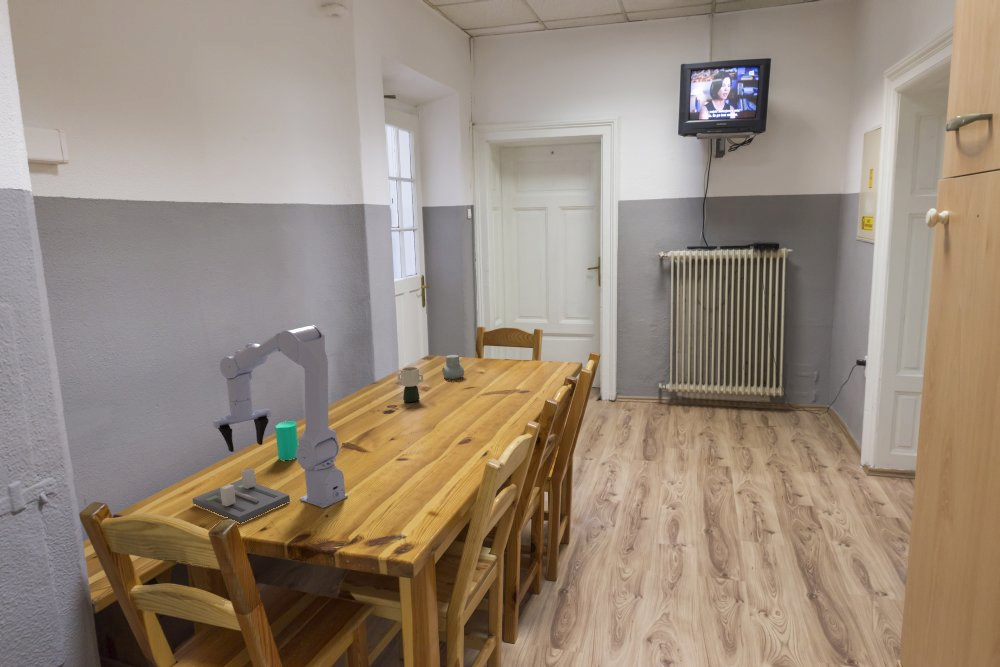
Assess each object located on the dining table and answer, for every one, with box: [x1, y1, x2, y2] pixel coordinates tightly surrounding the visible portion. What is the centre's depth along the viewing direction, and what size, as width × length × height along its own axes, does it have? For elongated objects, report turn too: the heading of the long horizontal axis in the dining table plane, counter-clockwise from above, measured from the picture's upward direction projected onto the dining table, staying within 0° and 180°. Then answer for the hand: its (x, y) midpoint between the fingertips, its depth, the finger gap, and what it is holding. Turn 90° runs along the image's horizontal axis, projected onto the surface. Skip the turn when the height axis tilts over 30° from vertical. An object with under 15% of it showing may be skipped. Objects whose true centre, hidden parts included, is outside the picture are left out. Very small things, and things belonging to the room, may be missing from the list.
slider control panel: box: [192, 478, 291, 525], centre depth 160 cm, size 20×14×3 cm
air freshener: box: [441, 354, 465, 380], centre depth 282 cm, size 11×8×10 cm
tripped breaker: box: [219, 483, 236, 506], centre depth 155 cm, size 2×2×4 cm
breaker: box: [241, 467, 257, 489], centre depth 165 cm, size 2×2×4 cm
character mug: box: [397, 366, 424, 403], centre depth 247 cm, size 11×7×13 cm, turn 71°
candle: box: [274, 419, 299, 460], centre depth 191 cm, size 6×6×12 cm
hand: (245, 447), depth 173 cm, fingers open, 7 cm apart
